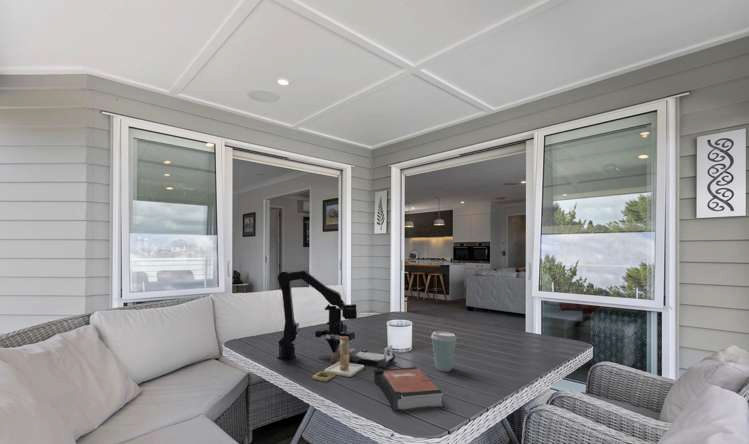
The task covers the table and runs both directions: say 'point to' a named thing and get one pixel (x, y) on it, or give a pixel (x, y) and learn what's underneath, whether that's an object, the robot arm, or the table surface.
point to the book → (407, 388)
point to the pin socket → (317, 377)
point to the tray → (352, 370)
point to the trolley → (374, 357)
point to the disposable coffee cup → (443, 349)
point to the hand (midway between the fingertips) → (334, 353)
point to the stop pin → (344, 353)
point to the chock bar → (336, 355)
